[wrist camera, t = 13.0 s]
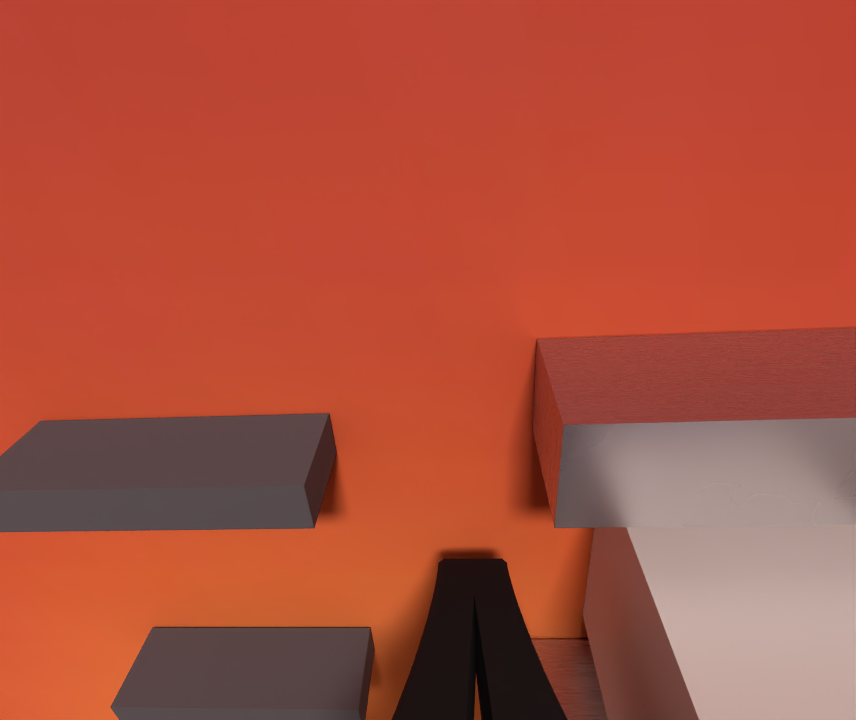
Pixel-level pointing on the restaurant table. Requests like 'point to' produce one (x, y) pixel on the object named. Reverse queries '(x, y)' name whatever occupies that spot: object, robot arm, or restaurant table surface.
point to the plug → (724, 622)
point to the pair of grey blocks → (199, 510)
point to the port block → (690, 444)
